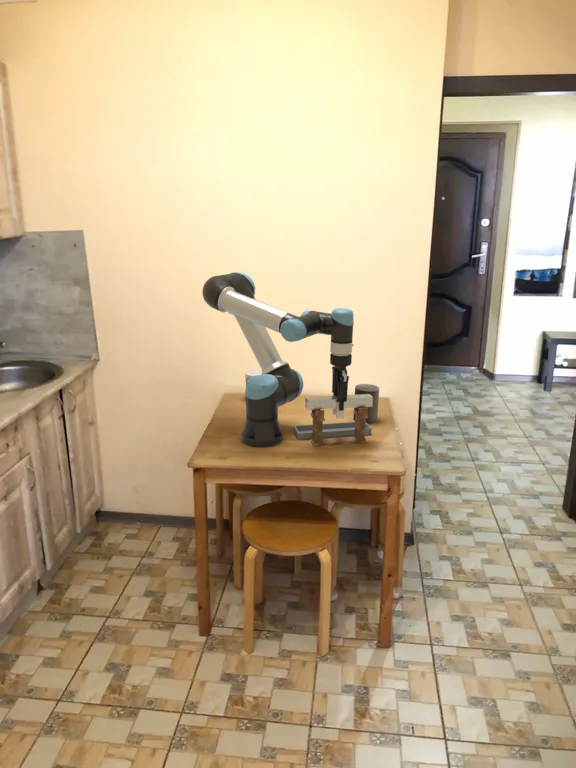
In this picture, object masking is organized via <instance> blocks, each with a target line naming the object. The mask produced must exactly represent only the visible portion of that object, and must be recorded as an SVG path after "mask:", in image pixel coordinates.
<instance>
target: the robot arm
mask: <svg viewBox="0 0 576 768" xmlns="http://www.w3.org/2000/svg"><path fill="white" fill-rule="evenodd" d="M255 290H256V286H255V282H254V281H253V279H252V277H250V276H249V275H248V274H246V273H244V272H230V273H227V274H219V275H214V276H211V277H209V278H208V279H207V280H206V281H205V282H204V283H203V286H202V292H201V293H202V298H203V300H204V302H205V303H206V304H207V305H208V306H209V307H210V308H212V309H214V310H216V311H218V312H221V313H228V314H229V315H233V316H234V318H235V320H236V321H237V324H238V325H239V327H240V329H241V331H242V333H243V335H244V337H245V339H246V342H247V343H248V345H249V348H250V349H251V351H252V353H253V355H254V357H255V359H256V361H257V363H258V364H259V367H260V368H261V371H262V374H261V375H256V376H253V377H251V378H250V379H249V380H248V381H247V383H246V382H245V390H244V392H245V394H244V395H245V422H244V425H243V428H242V432H241V440H242V442H243V443H244V444H246V445H248V446H250V447H257V446H258V447H262V448H263V447H264V448H265V447H273V446H276V445H279V444H280V443H281V442H282V441H283V440H284V439H283V435H284V434H283V430H282V427H281V424H280V421H279V408H280V407H281V406H284V405H286V404H288V403H291V402H292V401H294V400H296V399H297V398H298V397H300V395H301V394H302V392H303V390H304V389H303V388H304V380H303V376H302V375H301V373H300V372H299V371H297V370H296V369H294V368H291V366H290V364H289V362H287V361H284V360H283V358H282V357H281V355H280V354H279V351H278V350H277V348H276V345H275V344H274V342H273V340H272V337H271V336H270V334H269V332H268V330H272V331H274V332H276V333H279V334H280V335H281V337H282V338H283V339H284V340H285V341H287V342H289V343H292V342H293V343H294V342H299V341H301V340H303V339H306V338H308V337H309V338H310V337H312V336H314V335H315V336H316V335H317V334H319V335H320V334H321V335H326V336H330V350H329V351H330V356H329V364H330V365H331V369H332V371H331V372H332V376H331V377H332V382H331V383H332V384H331V393H332V394H333V395H332V396H338V400H336V402H337V408H336V409H332V414H333V415H335V418H336V419H337V420H340V419H345V408H344V406H345V402H347V395H348V387H349V379H350V376H349V375H348V370H347V367H349V366H351V365H352V359H353V358H352V357H353V355H352V352H353V347H354V343H353V334H354V324H355V322H354V312H353V310H351V309H349V308H342V307H340V308H334V309H332V311H331V313H328V312H323V311H322V312H321V311H316V310H304V311H303V312H302V313H301V315H300V316H297V315H294V314H293V313H289V312H287V311H285V310H282V309H280V308H277V307H274V306H272V305H270V304H267V303H265V302H262V301H259V300H257V299H256V297H255V295H256V291H255ZM267 329H268V330H267ZM258 447H257V448H258Z"/></svg>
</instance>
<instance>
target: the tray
mask: <svg viewBox="0 0 576 768" xmlns="http://www.w3.org/2000/svg"><path fill="white" fill-rule="evenodd" d="M312 429H313V423H312V424H298V425H293V433H294V434H295V437H296V439H297V440H298V441H300V440H301V441H303V440H312ZM365 436H372V427H371V426H370V425H369V424H367V423H365ZM341 437H355V421H347V422H346V421H345V422H344V421H343V422H332V423H330V422H329V423H323V432H322V439H327V438H341Z"/></svg>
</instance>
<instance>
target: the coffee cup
mask: <svg viewBox="0 0 576 768" xmlns="http://www.w3.org/2000/svg"><path fill="white" fill-rule="evenodd" d="M261 374H262V370H258V369H257V370H256V369H255V370H248V371H246V372H245V374H244V377H245V384H246V383H247V381H248V380H249V379H250V378H251V377H253V376H256V375H261Z"/></svg>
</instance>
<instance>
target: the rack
mask: <svg viewBox="0 0 576 768" xmlns="http://www.w3.org/2000/svg"><path fill="white" fill-rule="evenodd" d="M352 413H353V415H354V414H355V421H354V422H355V436H347V437H333V438H322V432H323V424H324V423H323V422H325V420H326V419H325V409H318V410H311V413H310V416H311V418H312V424H313V429H312V439H310V444H311V445H312V447H323V446H324V447H326V446H337V445H350V444H364V443H365V444H366V443H367V439H366V435H365V423H366V418H368V408H367V407H365V408H363V407H356V408H353V410H352Z"/></svg>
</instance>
